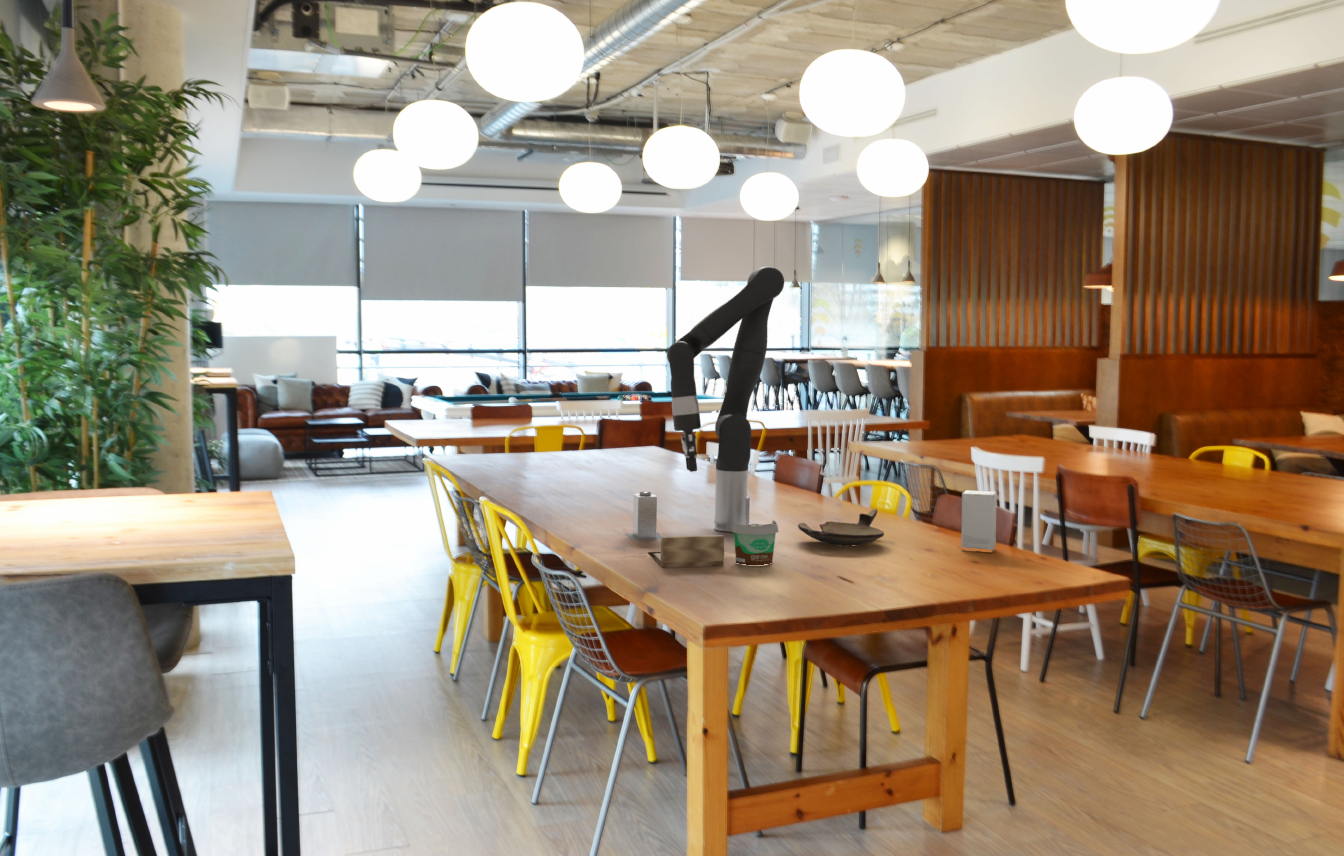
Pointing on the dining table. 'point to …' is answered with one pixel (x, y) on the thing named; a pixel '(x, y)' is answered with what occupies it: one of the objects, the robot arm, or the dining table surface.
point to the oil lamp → (846, 531)
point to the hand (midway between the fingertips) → (692, 470)
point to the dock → (690, 551)
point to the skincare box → (978, 519)
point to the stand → (642, 538)
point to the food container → (754, 543)
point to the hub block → (645, 515)
